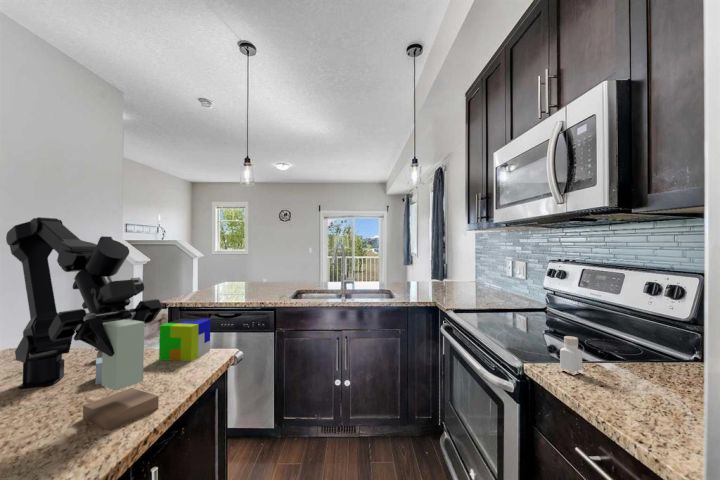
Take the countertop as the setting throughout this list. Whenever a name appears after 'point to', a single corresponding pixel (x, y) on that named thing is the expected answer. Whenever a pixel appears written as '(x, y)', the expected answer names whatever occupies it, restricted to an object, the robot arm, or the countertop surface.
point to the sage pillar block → (123, 354)
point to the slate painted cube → (98, 371)
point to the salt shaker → (571, 355)
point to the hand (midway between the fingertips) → (127, 351)
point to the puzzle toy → (184, 339)
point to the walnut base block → (120, 408)
